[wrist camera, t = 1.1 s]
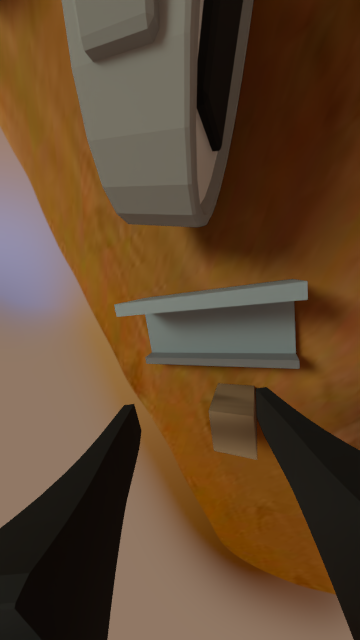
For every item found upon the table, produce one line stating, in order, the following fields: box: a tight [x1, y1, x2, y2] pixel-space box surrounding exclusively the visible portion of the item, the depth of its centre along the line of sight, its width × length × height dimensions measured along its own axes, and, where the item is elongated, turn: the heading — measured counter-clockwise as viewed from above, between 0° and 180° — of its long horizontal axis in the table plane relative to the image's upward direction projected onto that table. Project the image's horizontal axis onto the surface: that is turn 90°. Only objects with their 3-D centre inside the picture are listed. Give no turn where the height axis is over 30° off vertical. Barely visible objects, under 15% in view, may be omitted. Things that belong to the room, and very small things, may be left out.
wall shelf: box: [114, 279, 308, 369], centre depth 18 cm, size 8×16×6 cm, turn 100°
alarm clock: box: [62, 0, 254, 227], centre depth 11 cm, size 23×6×13 cm, turn 174°
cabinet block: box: [209, 383, 257, 460], centre depth 20 cm, size 5×4×5 cm
